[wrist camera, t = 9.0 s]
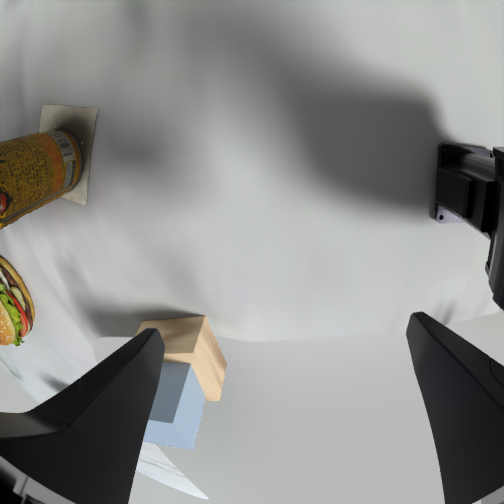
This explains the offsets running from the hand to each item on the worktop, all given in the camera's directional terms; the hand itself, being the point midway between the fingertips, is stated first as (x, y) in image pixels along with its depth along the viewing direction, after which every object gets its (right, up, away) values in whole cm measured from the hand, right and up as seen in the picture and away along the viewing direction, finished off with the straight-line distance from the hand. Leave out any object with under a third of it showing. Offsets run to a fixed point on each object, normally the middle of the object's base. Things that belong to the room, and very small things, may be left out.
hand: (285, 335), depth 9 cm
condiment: (-18, +12, +10) cm, 23 cm away
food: (-36, -2, +19) cm, 41 cm away
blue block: (-8, -9, +14) cm, 18 cm away
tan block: (-8, -7, +18) cm, 21 cm away
